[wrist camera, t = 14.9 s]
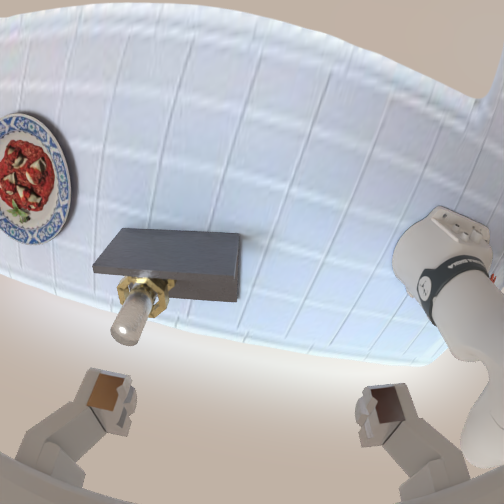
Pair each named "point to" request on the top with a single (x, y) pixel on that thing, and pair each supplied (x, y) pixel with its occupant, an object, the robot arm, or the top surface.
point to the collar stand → (173, 264)
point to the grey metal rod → (133, 314)
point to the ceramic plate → (32, 181)
